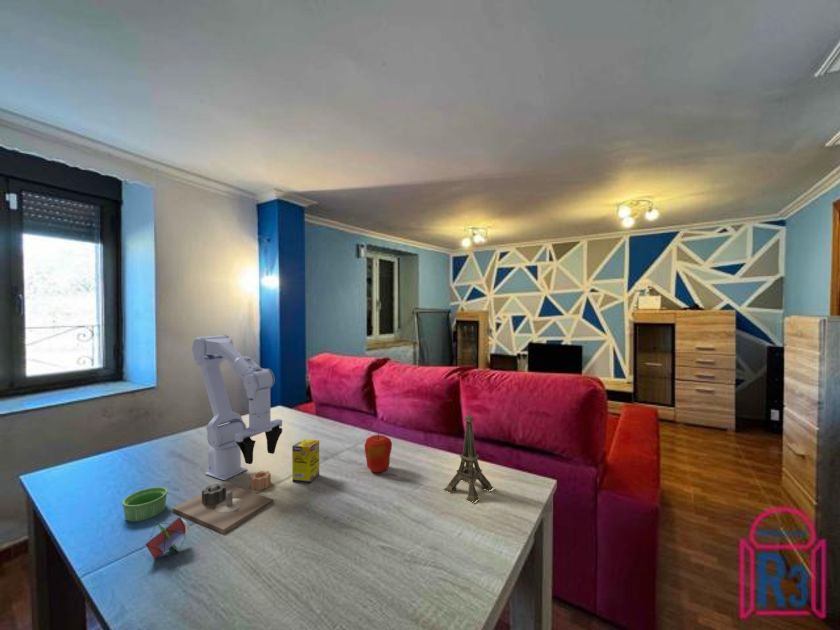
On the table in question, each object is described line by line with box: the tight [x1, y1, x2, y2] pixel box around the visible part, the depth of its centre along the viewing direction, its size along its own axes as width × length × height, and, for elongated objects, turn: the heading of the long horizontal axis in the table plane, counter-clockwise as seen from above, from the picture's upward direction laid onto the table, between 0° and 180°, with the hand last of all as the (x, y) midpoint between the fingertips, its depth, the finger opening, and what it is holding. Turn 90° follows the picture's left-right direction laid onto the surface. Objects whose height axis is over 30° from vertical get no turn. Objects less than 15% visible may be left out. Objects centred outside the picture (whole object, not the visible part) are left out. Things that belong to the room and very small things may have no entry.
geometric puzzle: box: [145, 516, 191, 560], centre depth 73 cm, size 7×7×8 cm
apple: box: [364, 433, 393, 474], centre depth 110 cm, size 9×8×12 cm
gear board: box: [171, 482, 274, 535], centre depth 90 cm, size 20×14×4 cm
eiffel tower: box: [442, 407, 494, 505], centre depth 98 cm, size 11×11×25 cm
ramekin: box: [122, 486, 169, 522], centre depth 88 cm, size 9×9×4 cm
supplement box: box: [291, 438, 320, 484], centre depth 105 cm, size 6×6×11 cm
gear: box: [249, 470, 272, 491], centre depth 101 cm, size 5×5×3 cm
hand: (260, 457), depth 101 cm, fingers open, 7 cm apart
